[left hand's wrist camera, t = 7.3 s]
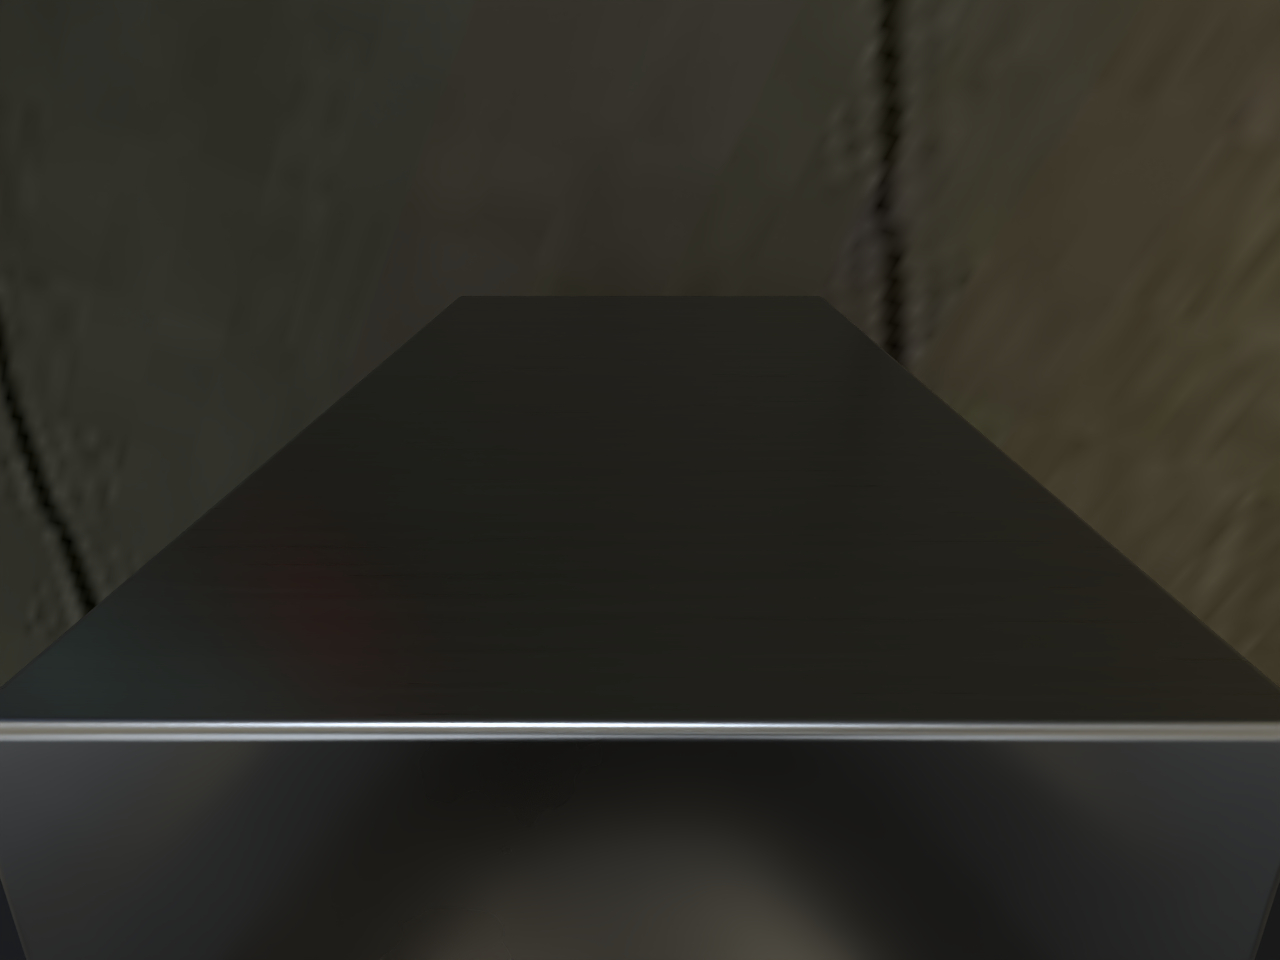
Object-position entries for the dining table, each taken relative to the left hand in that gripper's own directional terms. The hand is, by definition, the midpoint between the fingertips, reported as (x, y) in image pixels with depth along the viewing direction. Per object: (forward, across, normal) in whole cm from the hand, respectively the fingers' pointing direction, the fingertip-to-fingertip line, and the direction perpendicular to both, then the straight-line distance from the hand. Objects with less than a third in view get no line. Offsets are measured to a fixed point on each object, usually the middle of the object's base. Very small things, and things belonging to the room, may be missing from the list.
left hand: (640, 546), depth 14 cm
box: (+2, 0, -10) cm, 10 cm away
